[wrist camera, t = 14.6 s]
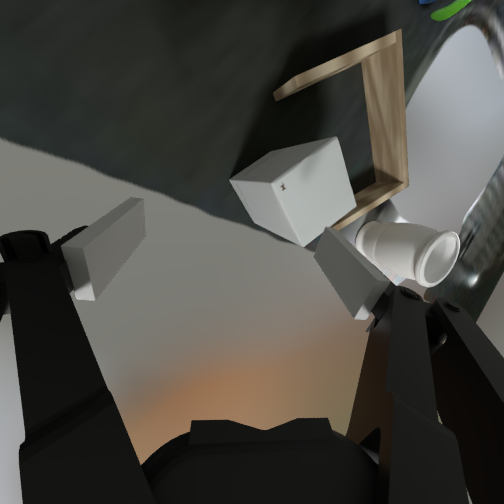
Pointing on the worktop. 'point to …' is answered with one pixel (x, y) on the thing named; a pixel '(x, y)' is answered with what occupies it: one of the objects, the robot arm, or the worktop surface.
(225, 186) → the worktop surface
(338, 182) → the supplement box
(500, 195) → the worktop surface
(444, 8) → the snack cup
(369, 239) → the jar
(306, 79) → the wooden u-shaped frame
